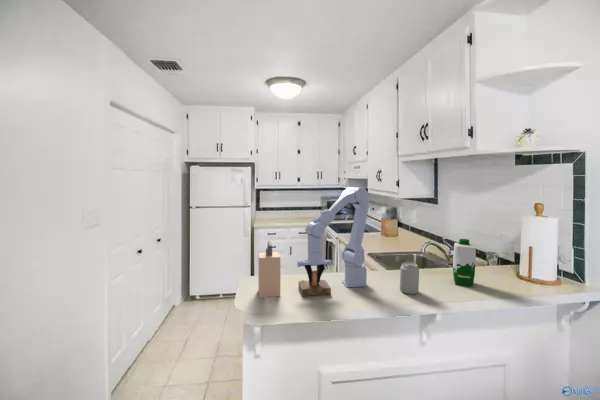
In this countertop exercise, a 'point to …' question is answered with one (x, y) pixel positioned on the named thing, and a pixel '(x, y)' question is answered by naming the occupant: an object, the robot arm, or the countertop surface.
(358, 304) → the countertop surface
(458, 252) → the milk carton
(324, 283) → the block
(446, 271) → the countertop surface
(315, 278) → the pin
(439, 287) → the countertop surface
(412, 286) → the can
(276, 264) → the soap dispenser
